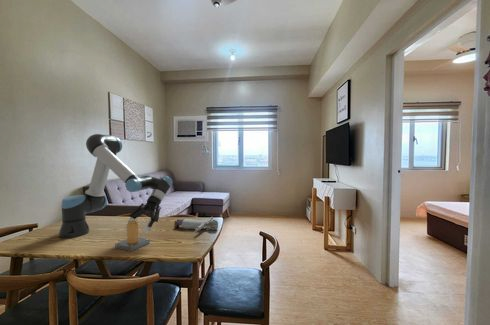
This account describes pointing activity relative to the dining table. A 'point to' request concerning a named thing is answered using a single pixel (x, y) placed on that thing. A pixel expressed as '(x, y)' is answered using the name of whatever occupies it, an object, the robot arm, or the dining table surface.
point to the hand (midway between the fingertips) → (135, 230)
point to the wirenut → (132, 232)
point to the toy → (197, 224)
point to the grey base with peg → (132, 244)
